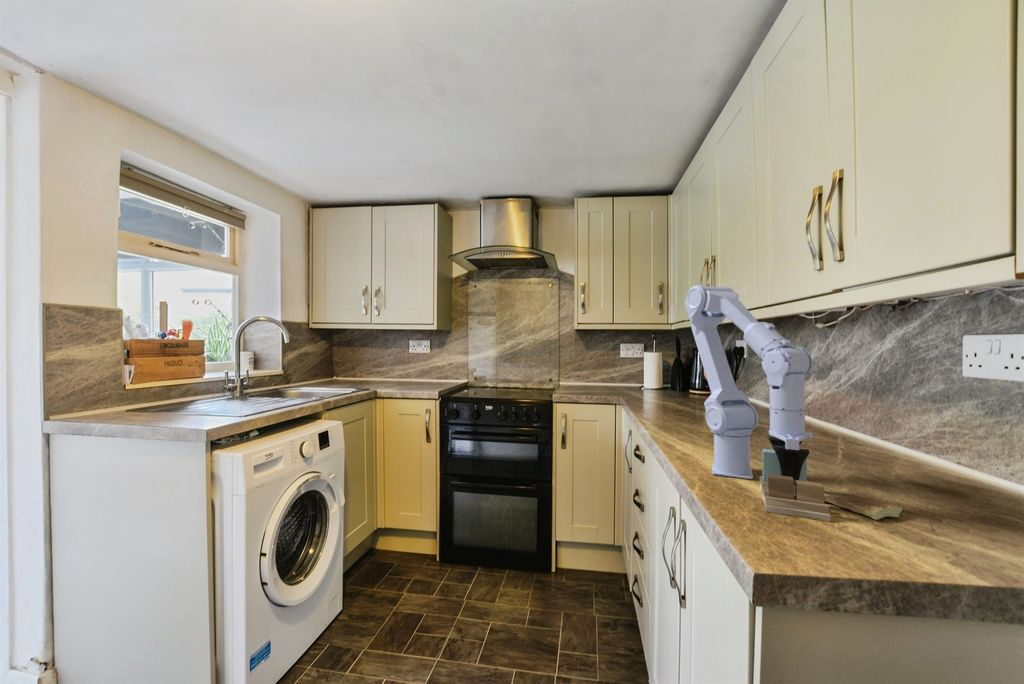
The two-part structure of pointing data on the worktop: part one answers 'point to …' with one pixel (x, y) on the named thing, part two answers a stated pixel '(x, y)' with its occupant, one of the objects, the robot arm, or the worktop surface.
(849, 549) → the worktop surface
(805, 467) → the teal panel
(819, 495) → the oak offcut
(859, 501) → the shard
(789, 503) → the birch rack
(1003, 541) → the worktop surface
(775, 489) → the walnut offcut
